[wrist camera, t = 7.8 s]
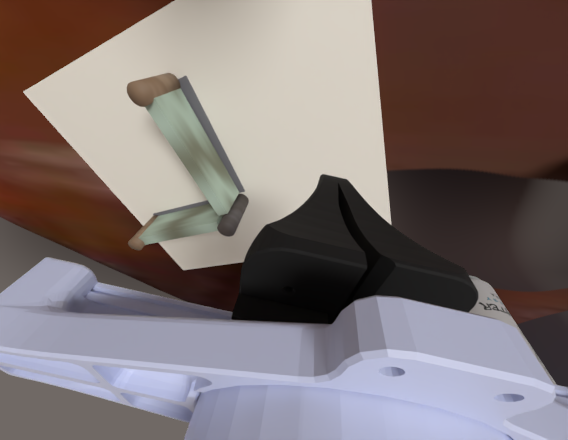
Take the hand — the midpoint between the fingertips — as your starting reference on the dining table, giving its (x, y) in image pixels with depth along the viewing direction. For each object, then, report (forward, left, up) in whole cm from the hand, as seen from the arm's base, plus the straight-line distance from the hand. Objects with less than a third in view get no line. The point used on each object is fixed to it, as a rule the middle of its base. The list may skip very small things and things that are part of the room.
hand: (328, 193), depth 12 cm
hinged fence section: (+3, +10, -8) cm, 13 cm away
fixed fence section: (-4, +15, -9) cm, 18 cm away
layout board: (-1, +10, -9) cm, 14 cm away
